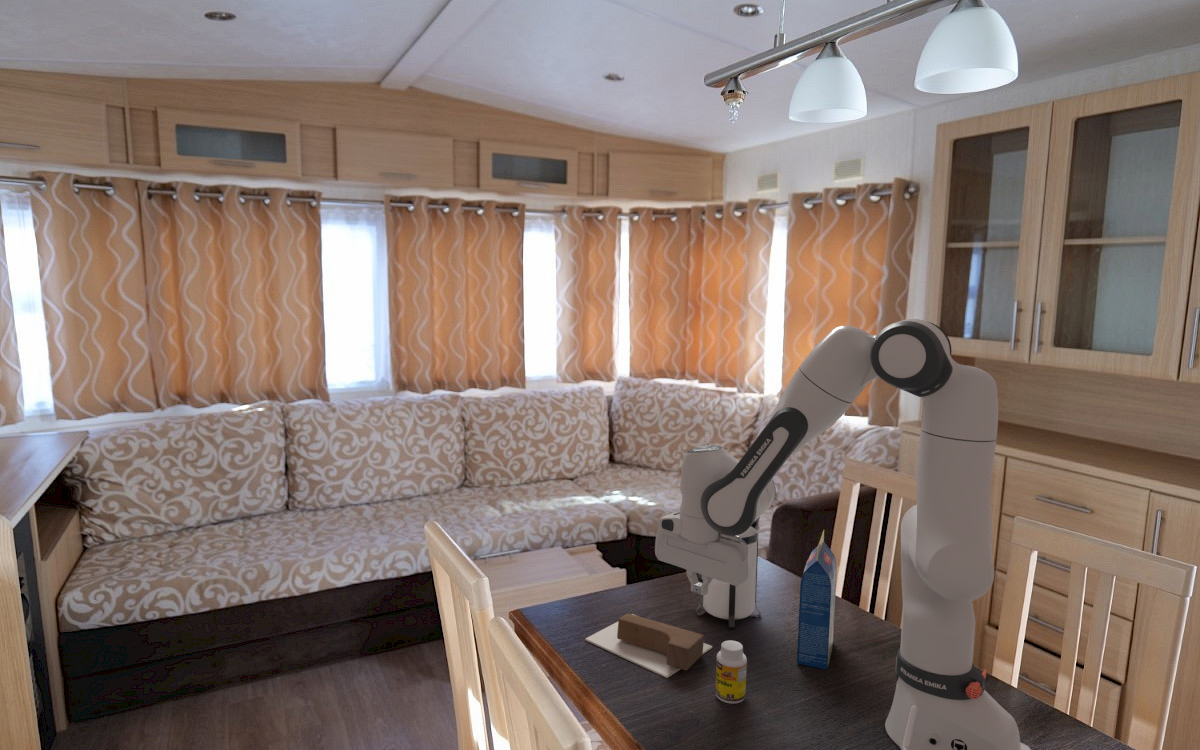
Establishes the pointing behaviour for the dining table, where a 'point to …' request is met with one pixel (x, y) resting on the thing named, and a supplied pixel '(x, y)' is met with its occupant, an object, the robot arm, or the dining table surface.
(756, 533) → the coffee press
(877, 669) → the dining table surface
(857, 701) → the dining table surface
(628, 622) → the wooden block
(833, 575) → the blue food package
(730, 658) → the supplement bottle
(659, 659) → the mat
